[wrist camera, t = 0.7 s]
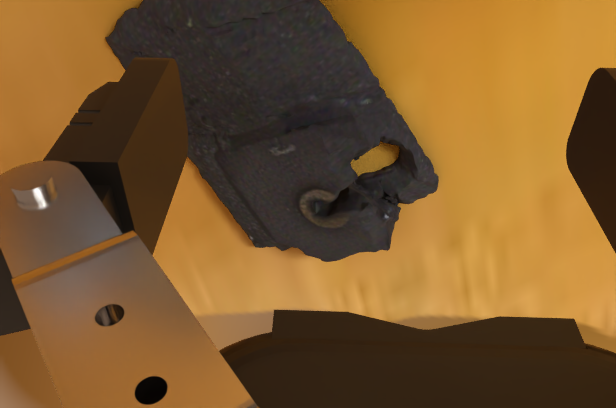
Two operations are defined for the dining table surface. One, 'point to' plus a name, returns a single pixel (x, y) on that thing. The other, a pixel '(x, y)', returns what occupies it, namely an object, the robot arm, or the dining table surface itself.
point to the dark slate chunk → (283, 120)
